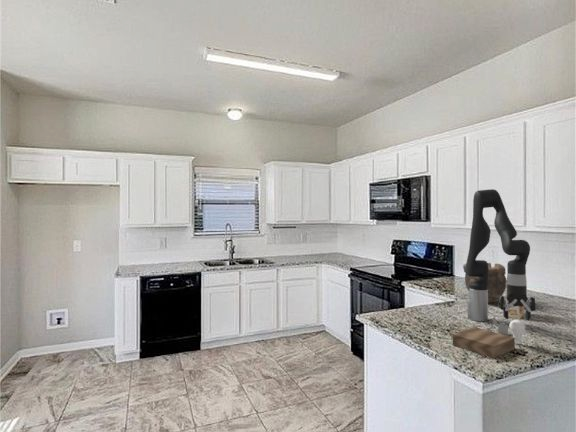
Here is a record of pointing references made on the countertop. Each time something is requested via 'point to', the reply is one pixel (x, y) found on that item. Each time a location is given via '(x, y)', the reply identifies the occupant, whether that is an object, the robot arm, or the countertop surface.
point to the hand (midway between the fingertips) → (517, 319)
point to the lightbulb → (517, 330)
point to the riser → (484, 342)
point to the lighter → (501, 327)
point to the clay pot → (491, 281)
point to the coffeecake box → (515, 310)
